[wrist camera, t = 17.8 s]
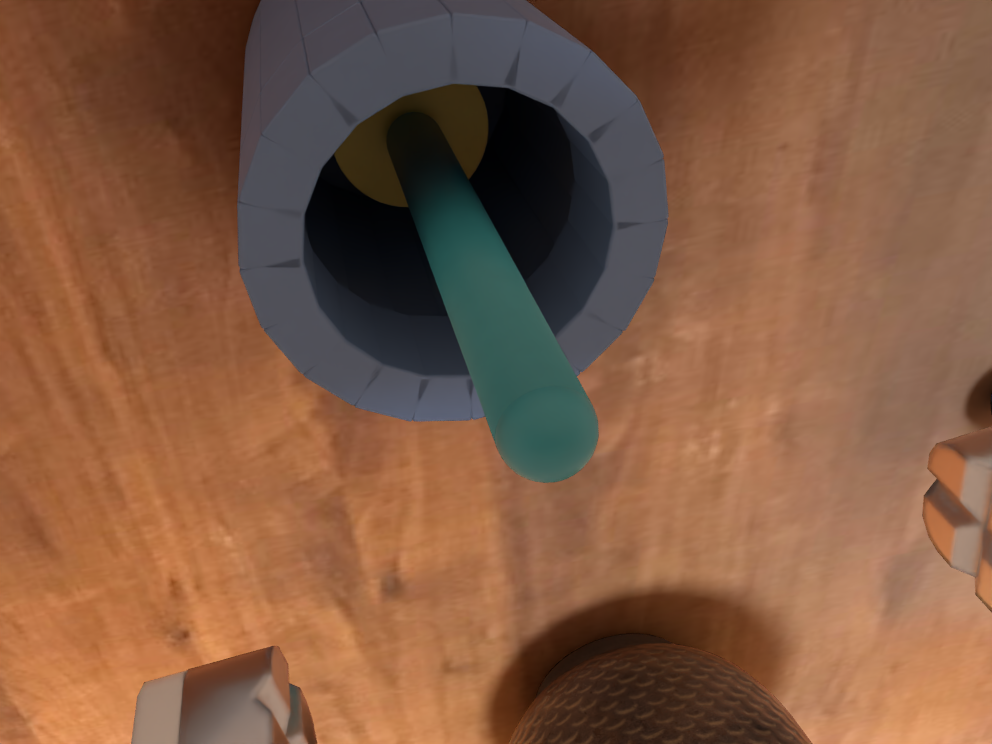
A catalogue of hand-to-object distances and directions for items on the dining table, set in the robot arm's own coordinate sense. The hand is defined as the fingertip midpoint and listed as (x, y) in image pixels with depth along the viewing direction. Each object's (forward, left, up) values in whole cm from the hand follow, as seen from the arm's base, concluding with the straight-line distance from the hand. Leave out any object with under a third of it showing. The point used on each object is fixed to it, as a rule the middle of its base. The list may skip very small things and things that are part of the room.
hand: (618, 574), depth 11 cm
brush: (0, 0, -23) cm, 23 cm away
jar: (0, 0, -24) cm, 24 cm away
